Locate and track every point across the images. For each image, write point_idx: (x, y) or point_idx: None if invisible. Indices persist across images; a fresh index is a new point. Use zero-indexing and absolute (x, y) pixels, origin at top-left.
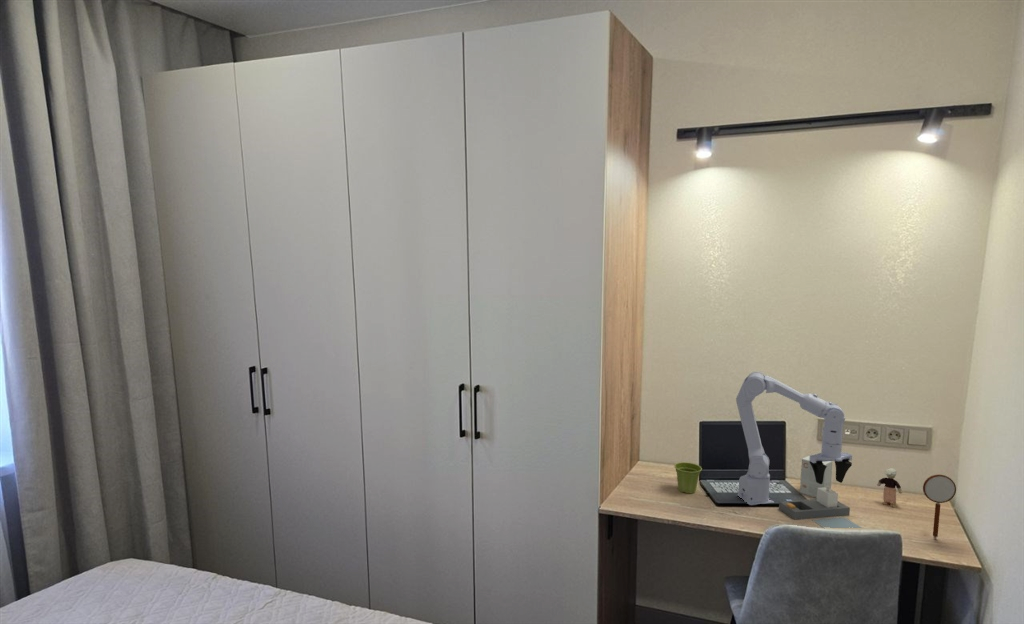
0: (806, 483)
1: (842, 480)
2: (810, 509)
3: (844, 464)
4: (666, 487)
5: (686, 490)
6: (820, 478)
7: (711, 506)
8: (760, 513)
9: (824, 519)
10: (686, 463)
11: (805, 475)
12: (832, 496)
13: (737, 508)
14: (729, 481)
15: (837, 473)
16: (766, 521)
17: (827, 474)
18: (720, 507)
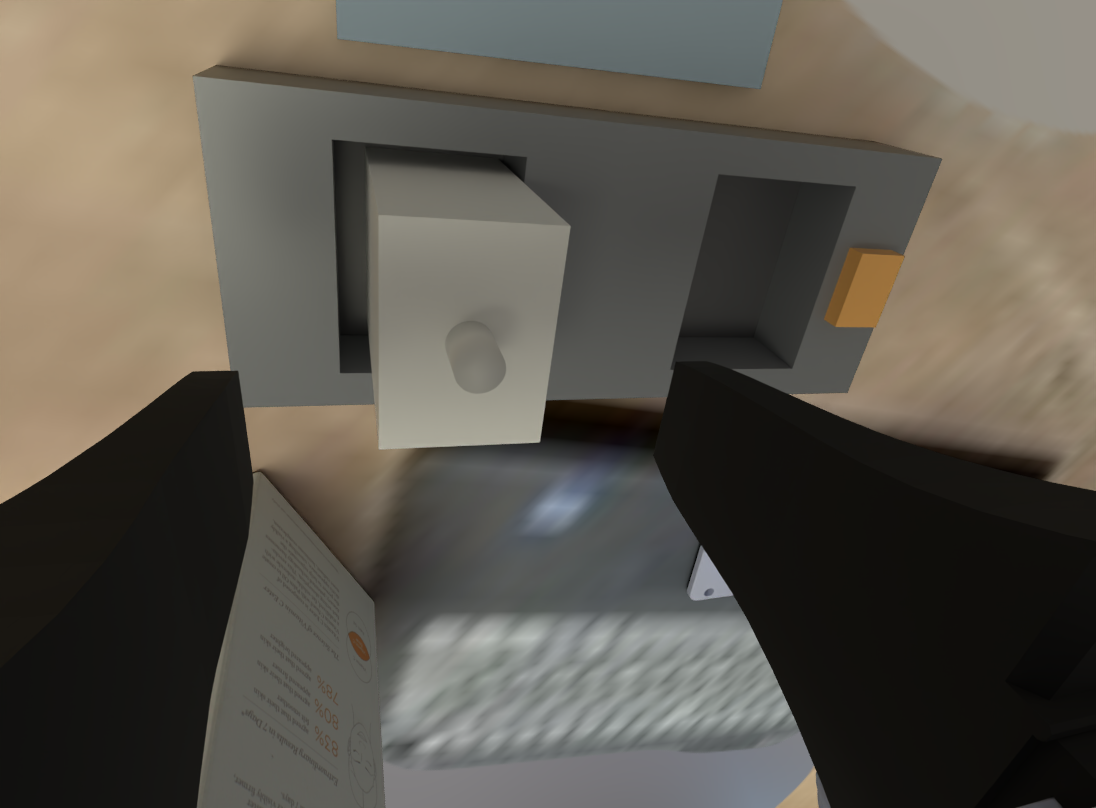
0: (352, 666)
1: (191, 383)
2: (755, 174)
3: (26, 784)
4: None
5: None
6: (797, 406)
7: (1081, 462)
8: (954, 332)
9: (624, 55)
10: None
11: (360, 753)
12: (481, 207)
13: (996, 422)
14: (694, 737)
15: (220, 584)
16: (1049, 200)
17: None
18: (1058, 446)
